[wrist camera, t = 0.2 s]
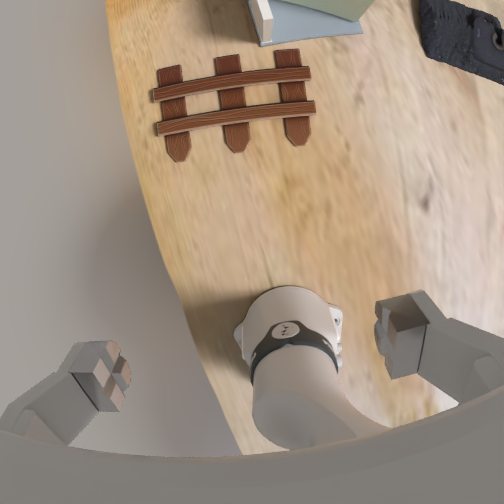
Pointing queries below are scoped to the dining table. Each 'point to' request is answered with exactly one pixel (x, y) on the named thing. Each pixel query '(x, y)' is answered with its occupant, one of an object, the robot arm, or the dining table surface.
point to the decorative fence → (234, 102)
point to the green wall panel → (338, 7)
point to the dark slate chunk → (463, 38)
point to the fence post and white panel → (263, 18)
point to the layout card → (303, 23)
